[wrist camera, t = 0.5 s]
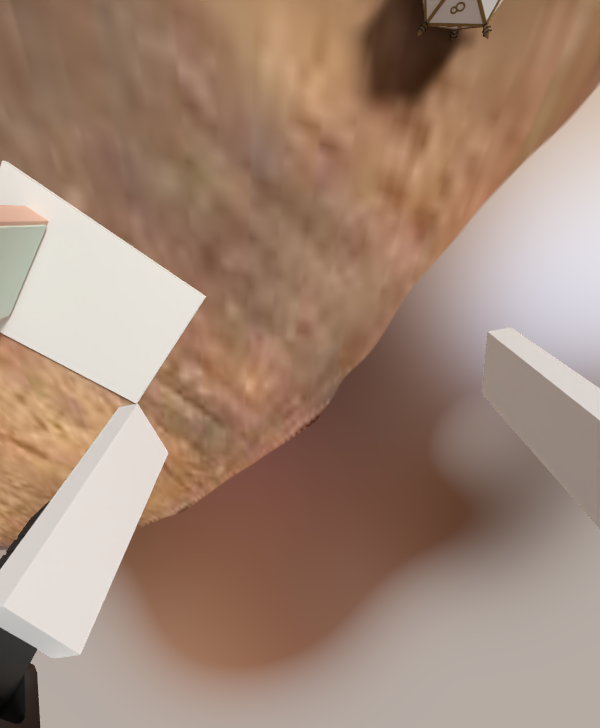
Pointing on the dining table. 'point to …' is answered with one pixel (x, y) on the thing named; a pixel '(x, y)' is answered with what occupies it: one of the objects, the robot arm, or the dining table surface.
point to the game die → (459, 15)
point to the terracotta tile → (17, 250)
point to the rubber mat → (94, 296)
